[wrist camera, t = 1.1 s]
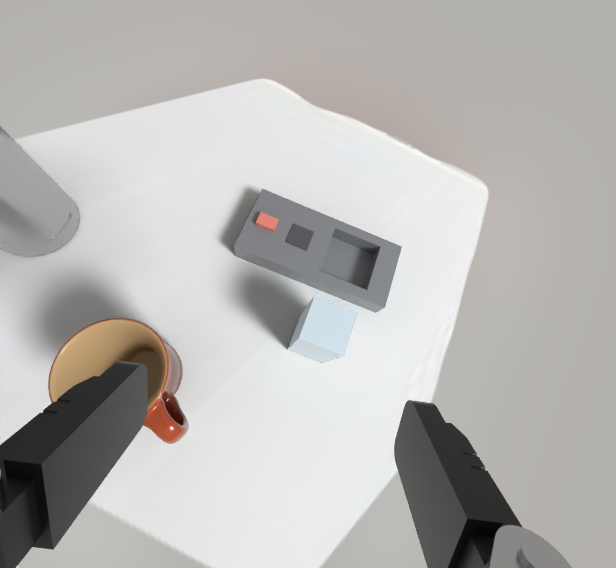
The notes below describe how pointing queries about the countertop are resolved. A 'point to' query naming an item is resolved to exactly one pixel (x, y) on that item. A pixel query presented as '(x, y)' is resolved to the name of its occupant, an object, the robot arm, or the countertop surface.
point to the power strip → (318, 251)
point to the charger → (323, 330)
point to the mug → (127, 348)
